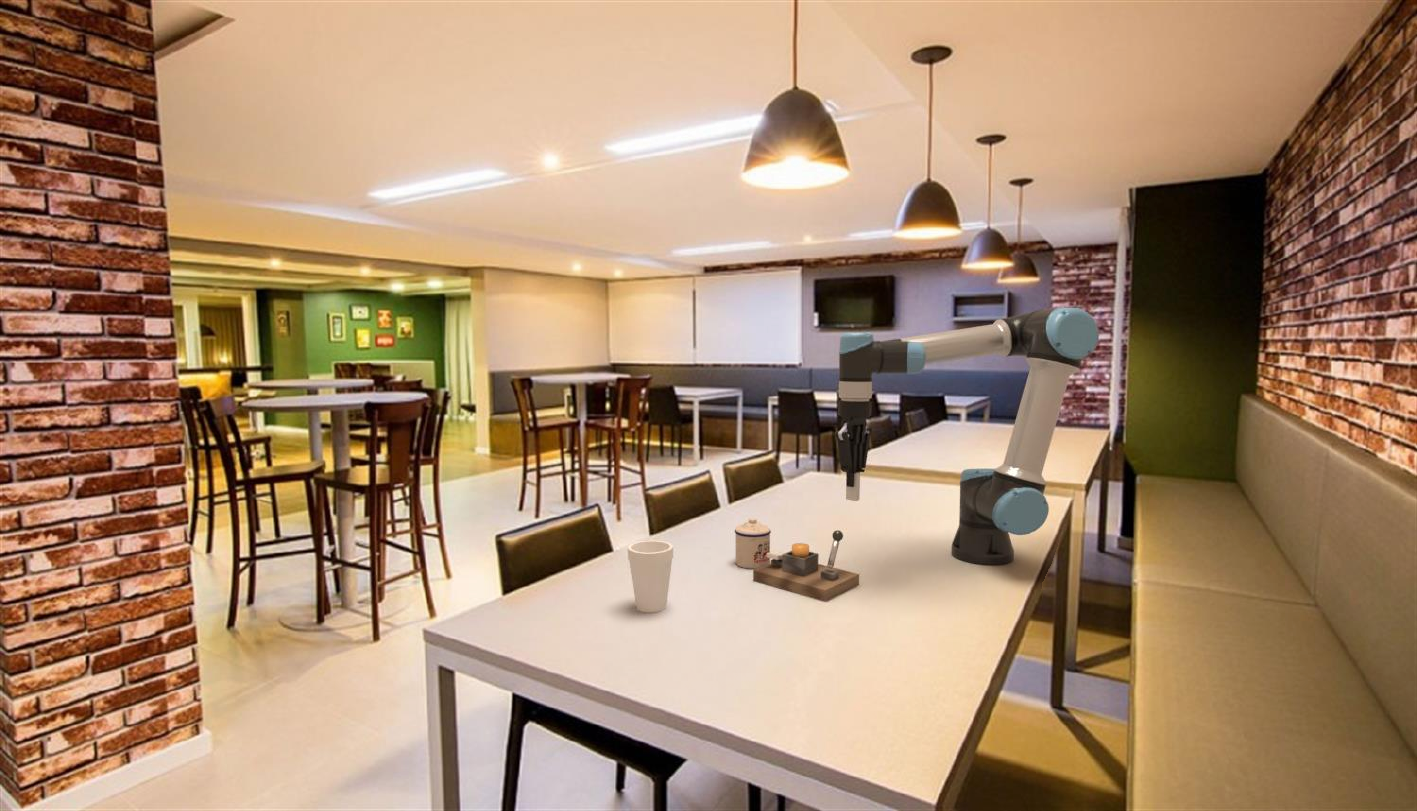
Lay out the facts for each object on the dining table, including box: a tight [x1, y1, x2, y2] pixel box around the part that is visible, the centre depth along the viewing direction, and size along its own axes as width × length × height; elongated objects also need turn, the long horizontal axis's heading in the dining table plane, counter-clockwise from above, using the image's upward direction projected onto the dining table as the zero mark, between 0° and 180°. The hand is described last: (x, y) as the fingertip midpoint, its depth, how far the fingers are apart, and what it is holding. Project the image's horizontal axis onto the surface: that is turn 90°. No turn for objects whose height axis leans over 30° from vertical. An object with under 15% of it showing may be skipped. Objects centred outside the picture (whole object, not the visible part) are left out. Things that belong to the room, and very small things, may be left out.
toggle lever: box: [826, 530, 844, 569], centre depth 157 cm, size 2×2×9 cm
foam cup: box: [627, 540, 674, 614], centre depth 145 cm, size 10×9×13 cm
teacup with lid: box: [734, 517, 772, 570], centre depth 175 cm, size 12×9×12 cm
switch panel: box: [752, 550, 860, 603], centre depth 160 cm, size 20×14×6 cm
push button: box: [791, 542, 810, 558], centre depth 161 cm, size 4×4×3 cm
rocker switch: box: [766, 551, 787, 560], centre depth 165 cm, size 3×6×1 cm, turn 138°
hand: (852, 499), depth 162 cm, fingers closed
